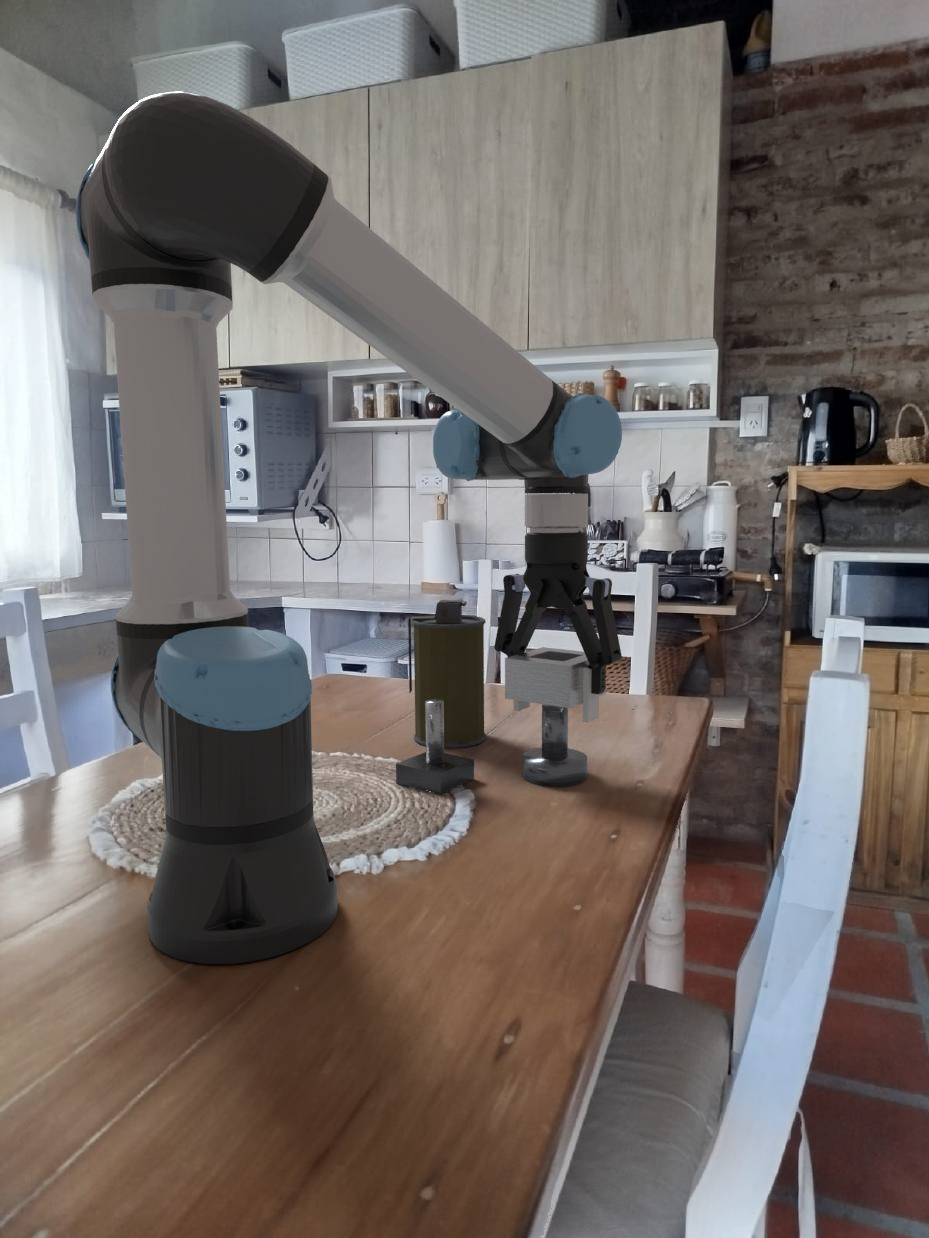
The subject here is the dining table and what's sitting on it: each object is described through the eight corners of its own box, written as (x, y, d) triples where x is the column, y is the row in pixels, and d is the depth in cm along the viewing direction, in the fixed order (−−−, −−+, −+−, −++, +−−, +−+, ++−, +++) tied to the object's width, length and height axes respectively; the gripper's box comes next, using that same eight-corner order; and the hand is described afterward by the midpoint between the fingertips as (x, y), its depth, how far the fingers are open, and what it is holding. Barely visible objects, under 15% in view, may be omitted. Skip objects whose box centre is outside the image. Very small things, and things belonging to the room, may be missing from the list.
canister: (488, 729, 127) (488, 597, 124) (483, 749, 116) (482, 605, 114) (416, 728, 128) (414, 596, 125) (405, 747, 117) (402, 605, 115)
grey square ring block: (570, 708, 97) (570, 666, 97) (505, 698, 103) (504, 658, 102) (605, 693, 105) (606, 653, 104) (542, 684, 110) (542, 647, 109)
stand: (440, 794, 99) (439, 710, 97) (396, 783, 103) (394, 703, 101) (474, 778, 104) (473, 699, 103) (430, 768, 108) (429, 692, 107)
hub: (567, 790, 99) (567, 716, 98) (510, 778, 104) (510, 707, 103) (598, 773, 106) (599, 703, 105) (543, 762, 111) (543, 695, 109)
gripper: (654, 530, 97) (650, 719, 101) (497, 528, 110) (498, 696, 113) (626, 532, 91) (623, 734, 95) (464, 530, 104) (466, 708, 107)
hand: (555, 713), depth 104 cm, fingers closed on grey square ring block, 9 cm apart
